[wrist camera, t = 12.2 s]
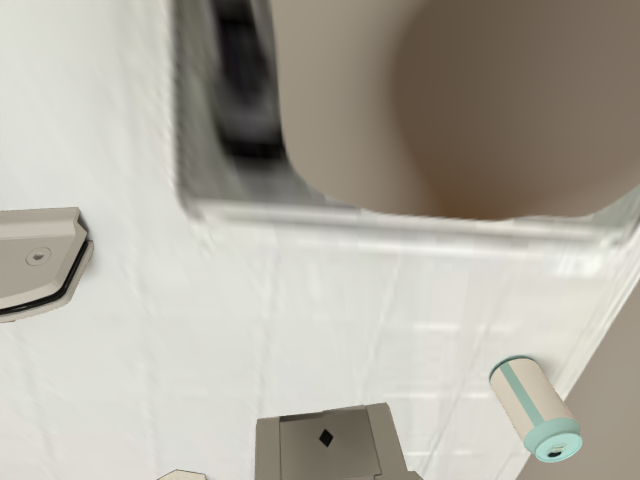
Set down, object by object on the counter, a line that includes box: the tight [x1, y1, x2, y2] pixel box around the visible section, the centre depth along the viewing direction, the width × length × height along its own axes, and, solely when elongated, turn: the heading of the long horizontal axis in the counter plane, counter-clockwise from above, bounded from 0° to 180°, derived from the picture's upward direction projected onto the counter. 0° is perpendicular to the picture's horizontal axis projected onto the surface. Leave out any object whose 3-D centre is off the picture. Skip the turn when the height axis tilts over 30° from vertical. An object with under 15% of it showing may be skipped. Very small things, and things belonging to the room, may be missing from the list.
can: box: [490, 359, 582, 462], centre depth 58 cm, size 7×7×12 cm
